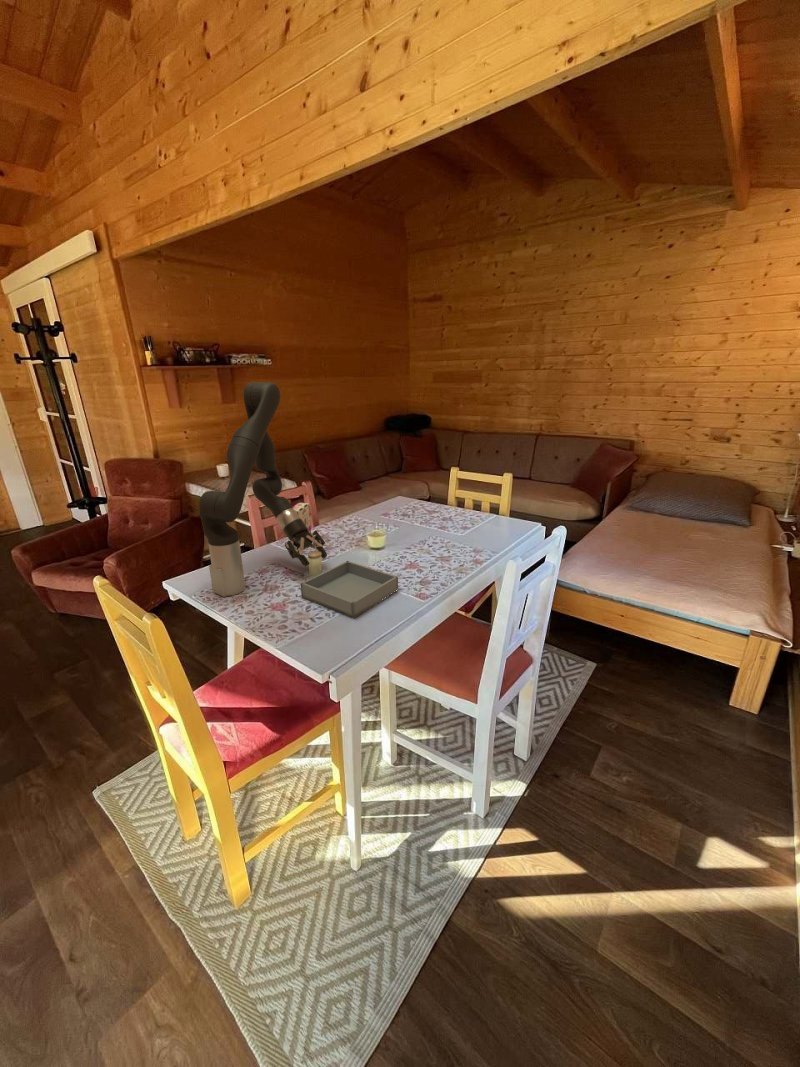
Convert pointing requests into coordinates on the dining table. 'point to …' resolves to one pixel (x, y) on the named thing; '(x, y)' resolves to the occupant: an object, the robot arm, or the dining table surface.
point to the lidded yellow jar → (315, 563)
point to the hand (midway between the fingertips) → (316, 561)
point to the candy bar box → (303, 514)
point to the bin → (349, 588)
